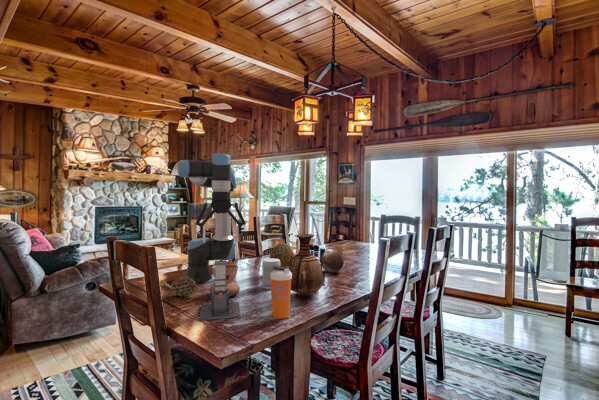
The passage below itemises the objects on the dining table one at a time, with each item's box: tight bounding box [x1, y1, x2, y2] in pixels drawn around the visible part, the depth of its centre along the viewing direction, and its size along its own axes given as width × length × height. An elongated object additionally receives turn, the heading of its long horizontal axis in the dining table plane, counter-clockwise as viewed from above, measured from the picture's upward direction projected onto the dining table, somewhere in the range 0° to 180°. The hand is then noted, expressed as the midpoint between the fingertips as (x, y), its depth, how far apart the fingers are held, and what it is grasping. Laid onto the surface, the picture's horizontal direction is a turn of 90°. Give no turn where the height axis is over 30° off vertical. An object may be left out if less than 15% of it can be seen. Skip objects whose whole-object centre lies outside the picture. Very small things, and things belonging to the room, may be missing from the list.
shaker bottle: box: [270, 266, 292, 320], centre depth 134 cm, size 9×9×20 cm
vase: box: [288, 233, 324, 297], centre depth 160 cm, size 21×18×30 cm
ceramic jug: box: [209, 263, 241, 298], centre depth 161 cm, size 18×14×14 cm
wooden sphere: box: [320, 248, 345, 274], centre depth 208 cm, size 15×15×15 cm
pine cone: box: [162, 276, 198, 298], centre depth 159 cm, size 22×10×10 cm, turn 67°
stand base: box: [198, 289, 242, 321], centre depth 138 cm, size 16×16×9 cm
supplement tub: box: [261, 257, 280, 291], centre depth 174 cm, size 10×10×15 cm
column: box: [214, 260, 228, 294], centre depth 138 cm, size 5×5×20 cm
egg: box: [268, 242, 296, 267], centre depth 199 cm, size 16×16×20 cm
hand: (220, 241), depth 137 cm, fingers open, 13 cm apart
